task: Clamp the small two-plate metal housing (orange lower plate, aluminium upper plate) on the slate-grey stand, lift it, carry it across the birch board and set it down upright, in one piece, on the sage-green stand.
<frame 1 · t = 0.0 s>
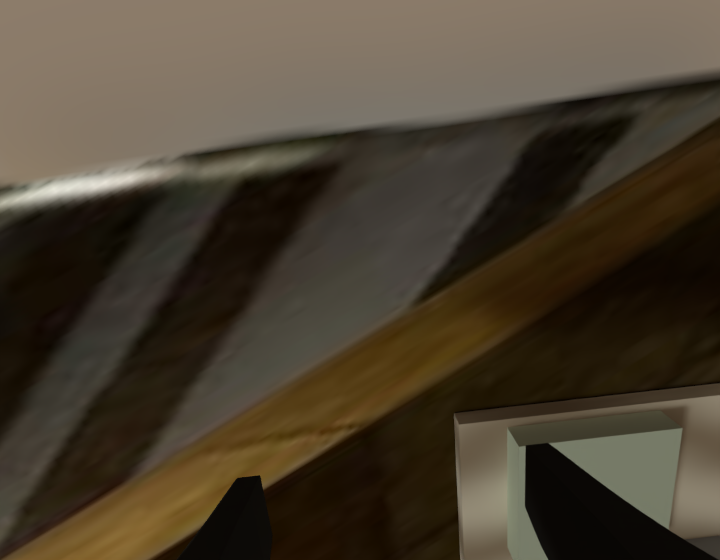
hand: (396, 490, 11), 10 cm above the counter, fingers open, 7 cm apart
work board: (608, 525, 25), on the counter
stand B: (570, 468, 24), resting on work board
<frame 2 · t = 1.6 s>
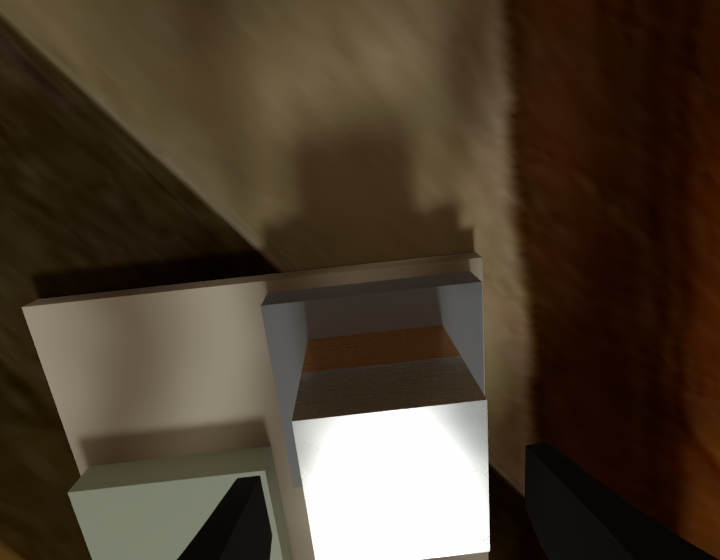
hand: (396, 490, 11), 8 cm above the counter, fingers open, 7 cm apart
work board: (290, 457, 20), on the counter
stand A: (376, 361, 19), resting on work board
stand B: (206, 510, 20), resting on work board
housing: (381, 391, 16), point 2 cm above the counter, touching stand A
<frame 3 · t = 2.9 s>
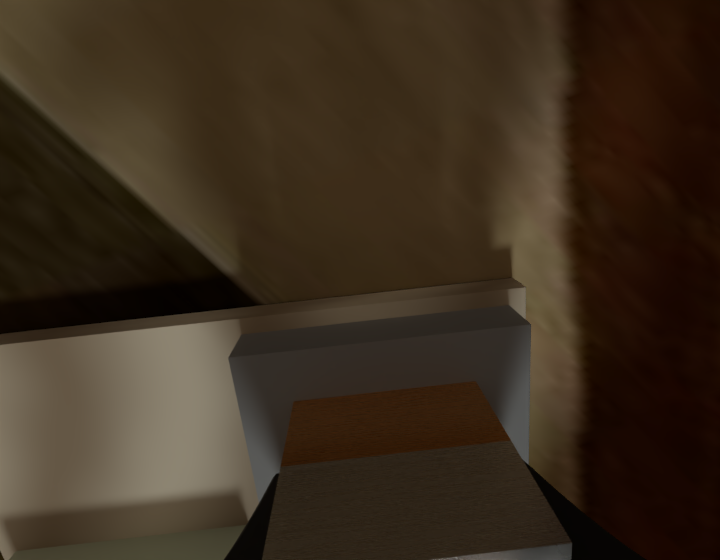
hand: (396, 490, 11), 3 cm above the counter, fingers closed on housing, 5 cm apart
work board: (275, 531, 16), on the counter
stand A: (383, 415, 14), resting on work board
housing: (392, 466, 12), point 2 cm above the counter, touching gripper, stand A
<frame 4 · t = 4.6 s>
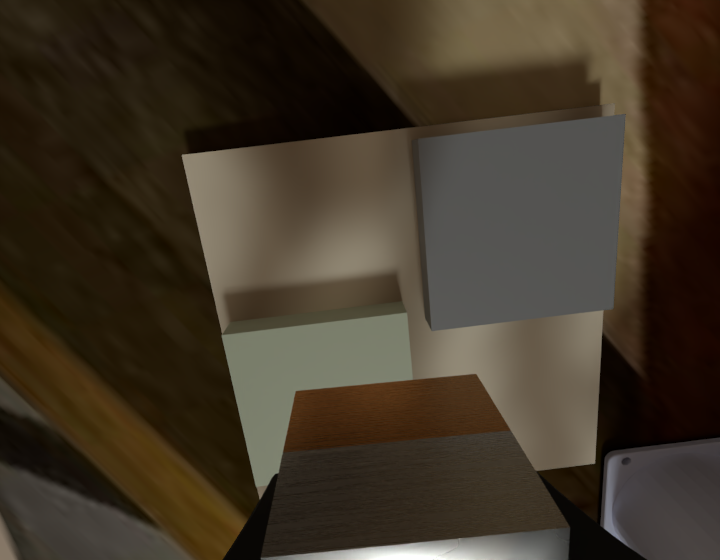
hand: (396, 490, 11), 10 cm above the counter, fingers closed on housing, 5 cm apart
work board: (412, 321, 21), on the counter
stand A: (500, 220, 19), resting on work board
stand B: (328, 377, 21), resting on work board
housing: (392, 458, 12), point 9 cm above the counter, touching gripper
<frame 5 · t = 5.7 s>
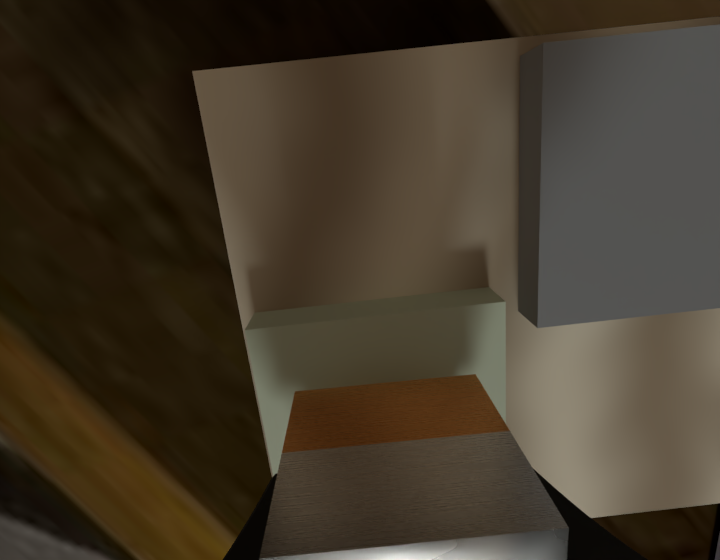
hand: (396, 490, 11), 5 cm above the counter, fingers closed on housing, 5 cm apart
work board: (493, 315, 16), on the counter
stand A: (622, 179, 14), resting on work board
stand B: (380, 387, 16), resting on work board
housing: (391, 458, 12), point 4 cm above the counter, touching gripper
when the fingers open (5 cm above the counter, at t = 6.7 s): housing drops 1 cm, resting on stand B.
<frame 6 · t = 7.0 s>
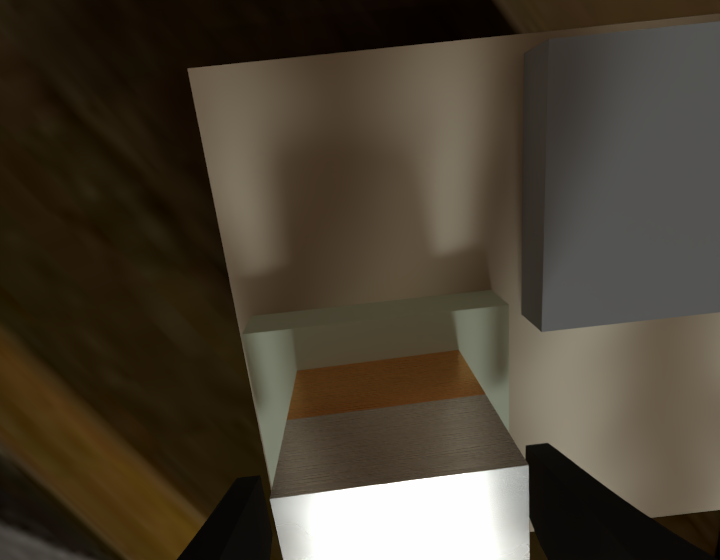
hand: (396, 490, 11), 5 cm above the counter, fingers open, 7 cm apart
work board: (496, 318, 15), on the counter
stand A: (628, 179, 14), resting on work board
stand B: (380, 392, 16), resting on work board
housing: (386, 429, 13), point 2 cm above the counter, touching stand B
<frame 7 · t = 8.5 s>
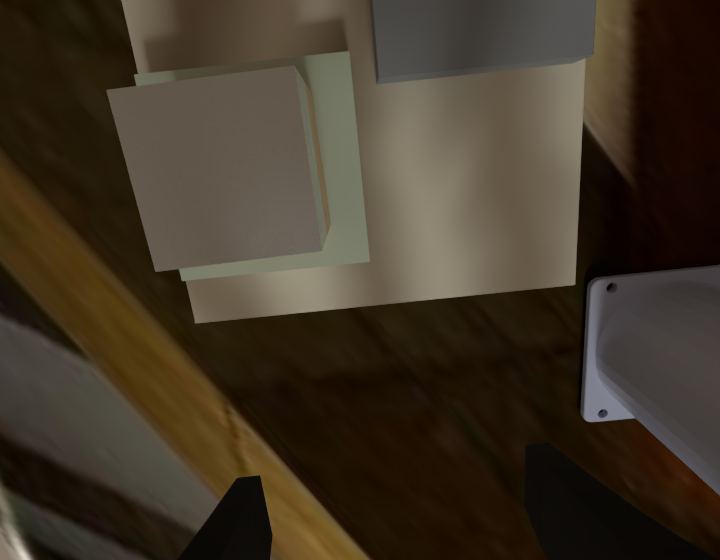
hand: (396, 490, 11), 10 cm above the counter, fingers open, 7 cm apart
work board: (365, 102, 18), on the counter
stand B: (271, 172, 19), resting on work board
housing: (259, 170, 16), point 2 cm above the counter, touching stand B
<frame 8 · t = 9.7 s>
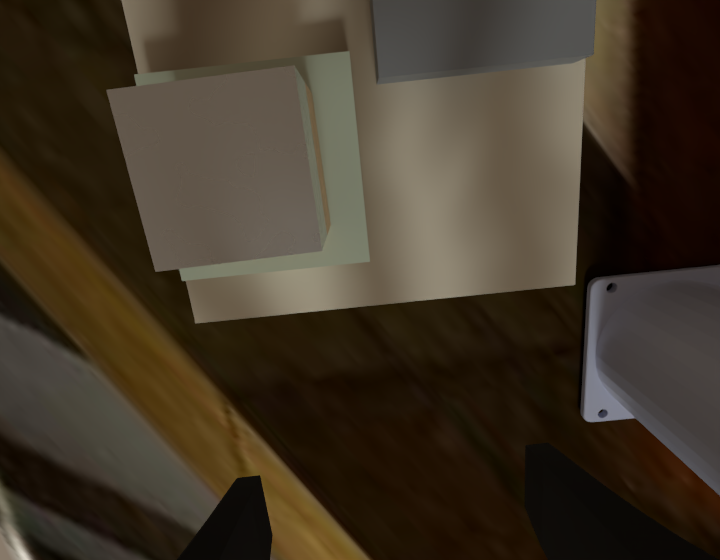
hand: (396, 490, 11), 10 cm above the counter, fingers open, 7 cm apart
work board: (365, 102, 18), on the counter
stand B: (271, 172, 19), resting on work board
housing: (259, 170, 16), point 2 cm above the counter, touching stand B
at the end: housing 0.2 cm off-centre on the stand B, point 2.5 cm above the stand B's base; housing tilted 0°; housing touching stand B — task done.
